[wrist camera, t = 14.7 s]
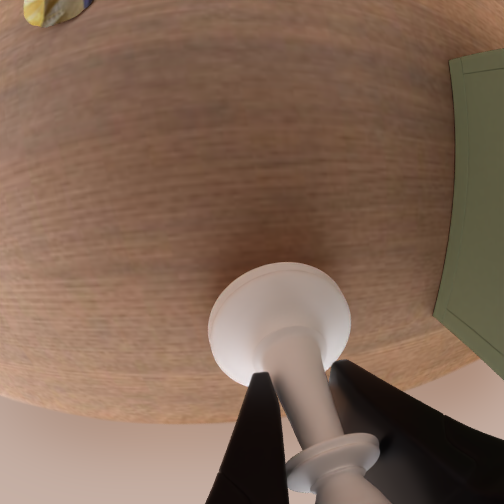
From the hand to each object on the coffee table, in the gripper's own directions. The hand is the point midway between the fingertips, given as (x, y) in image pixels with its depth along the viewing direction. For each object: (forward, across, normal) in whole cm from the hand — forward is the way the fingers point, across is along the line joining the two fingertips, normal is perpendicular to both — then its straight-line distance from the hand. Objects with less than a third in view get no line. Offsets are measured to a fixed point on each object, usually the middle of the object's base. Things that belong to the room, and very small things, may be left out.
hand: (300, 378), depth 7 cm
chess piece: (+3, 0, 0) cm, 3 cm away
